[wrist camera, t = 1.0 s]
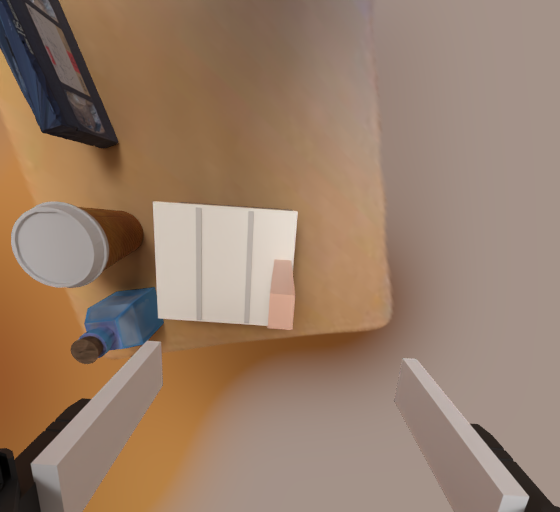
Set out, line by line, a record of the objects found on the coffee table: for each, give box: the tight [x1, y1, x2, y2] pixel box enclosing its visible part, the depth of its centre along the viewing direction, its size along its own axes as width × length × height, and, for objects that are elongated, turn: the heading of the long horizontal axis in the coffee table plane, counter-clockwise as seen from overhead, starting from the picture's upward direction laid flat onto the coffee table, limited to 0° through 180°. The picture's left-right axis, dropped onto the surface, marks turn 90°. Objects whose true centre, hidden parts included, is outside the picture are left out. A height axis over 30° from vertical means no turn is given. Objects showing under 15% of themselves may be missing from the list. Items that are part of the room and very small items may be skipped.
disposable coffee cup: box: [11, 202, 143, 288], centre depth 33 cm, size 10×10×12 cm
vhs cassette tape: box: [0, 0, 119, 148], centre depth 29 cm, size 18×3×10 cm, turn 16°
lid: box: [153, 201, 298, 330], centre depth 27 cm, size 15×17×13 cm
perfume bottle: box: [71, 287, 164, 364], centre depth 36 cm, size 6×6×12 cm
